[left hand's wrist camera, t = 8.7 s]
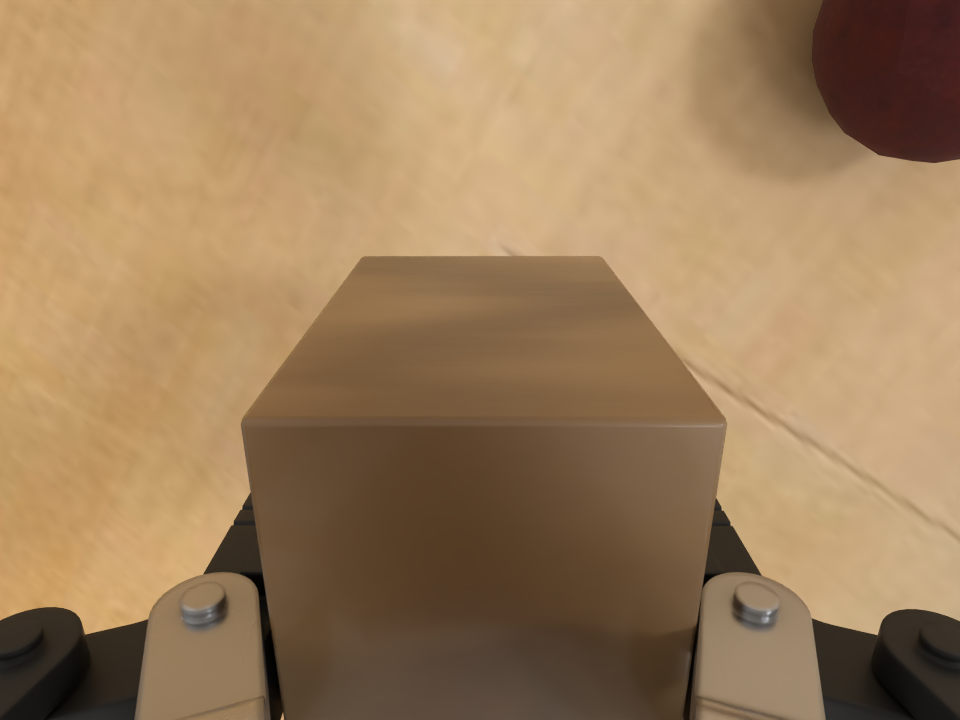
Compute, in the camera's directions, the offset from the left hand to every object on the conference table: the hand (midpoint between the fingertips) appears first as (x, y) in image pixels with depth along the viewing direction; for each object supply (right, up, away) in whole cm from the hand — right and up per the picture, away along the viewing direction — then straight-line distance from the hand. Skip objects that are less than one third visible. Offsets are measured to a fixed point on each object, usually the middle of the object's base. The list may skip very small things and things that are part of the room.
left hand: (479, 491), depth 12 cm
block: (0, +1, +2) cm, 3 cm away
